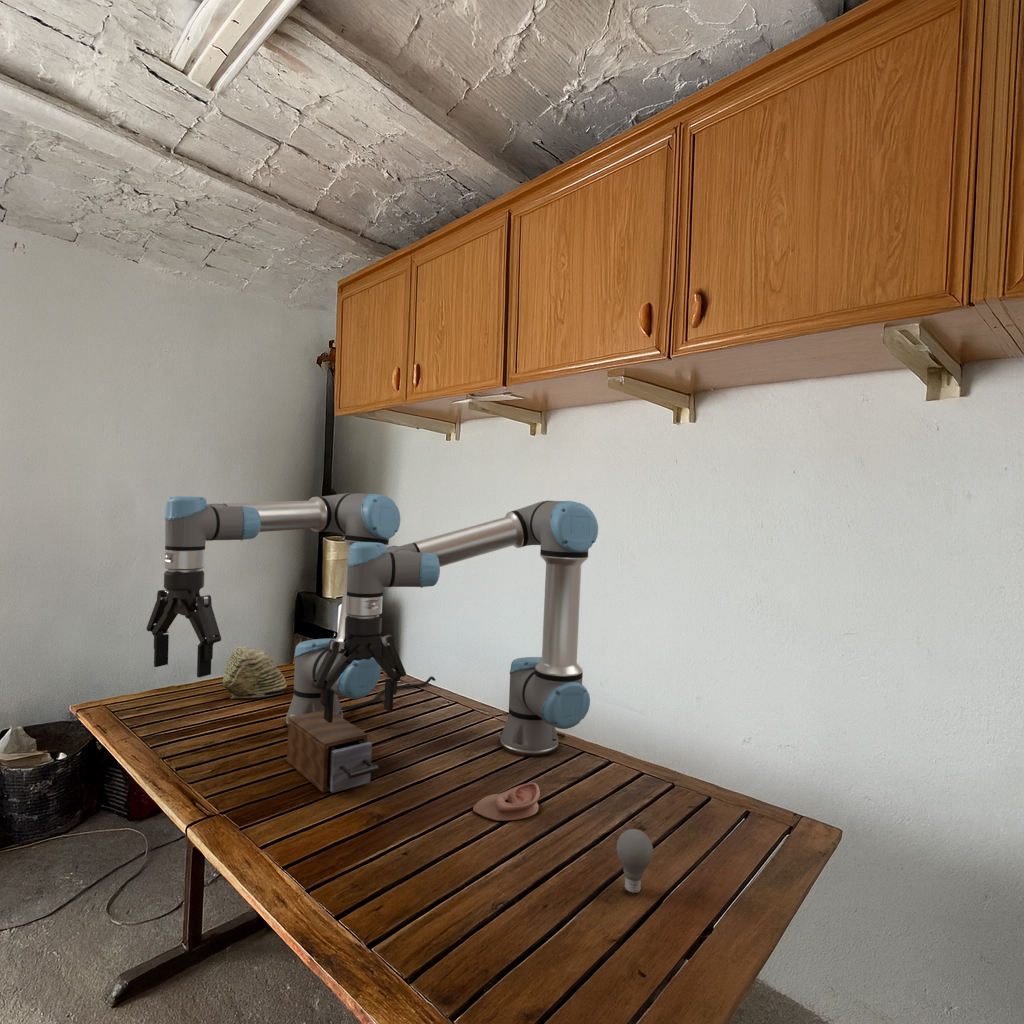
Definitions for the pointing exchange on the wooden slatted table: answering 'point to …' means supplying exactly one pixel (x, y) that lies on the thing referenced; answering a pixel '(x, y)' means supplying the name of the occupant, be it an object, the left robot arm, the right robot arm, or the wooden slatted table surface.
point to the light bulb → (634, 857)
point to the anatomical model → (510, 803)
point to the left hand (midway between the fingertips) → (182, 670)
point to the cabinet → (317, 744)
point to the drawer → (349, 765)
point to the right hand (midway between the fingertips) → (359, 715)
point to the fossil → (252, 674)
